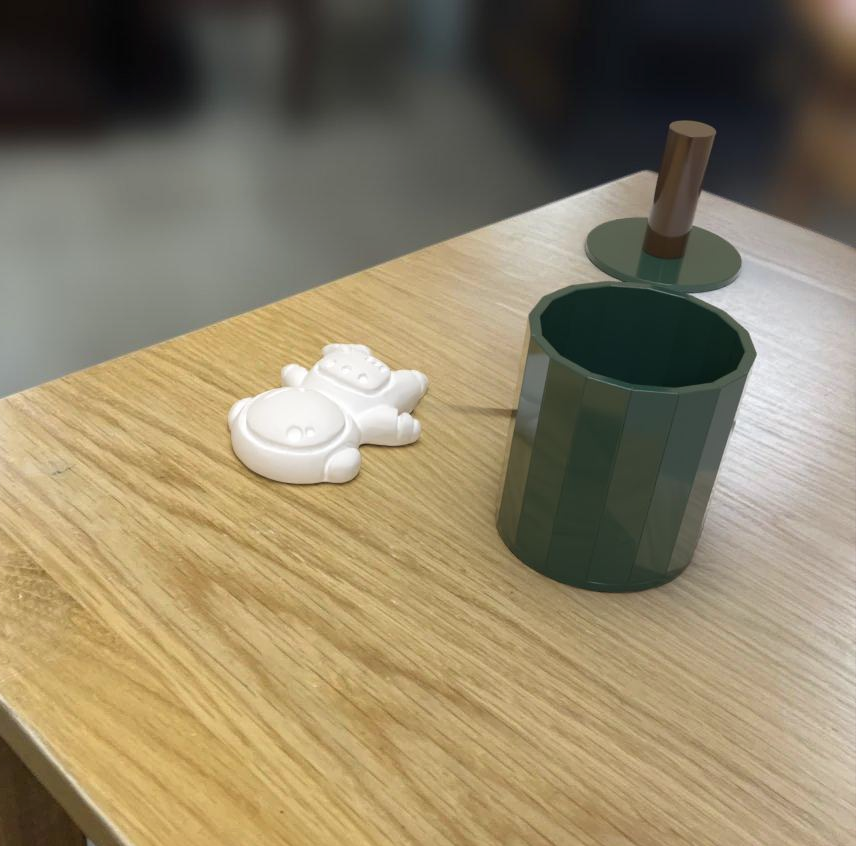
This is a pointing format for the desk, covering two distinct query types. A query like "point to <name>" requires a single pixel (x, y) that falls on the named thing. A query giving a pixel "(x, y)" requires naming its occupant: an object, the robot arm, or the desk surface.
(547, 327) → the canister
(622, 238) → the lid
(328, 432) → the white cartoon animal figure
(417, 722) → the desk surface
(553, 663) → the desk surface
